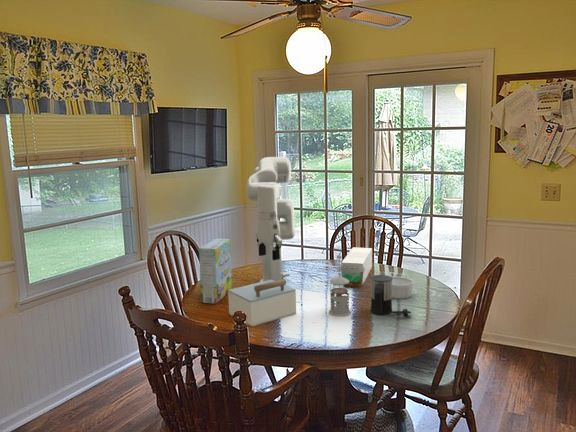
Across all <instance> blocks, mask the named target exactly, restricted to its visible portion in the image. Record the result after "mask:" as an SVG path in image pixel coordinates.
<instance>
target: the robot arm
mask: <svg viewBox="0 0 576 432" xmlns="http://www.w3.org/2000/svg"><path fill="white" fill-rule="evenodd" d="M291 178H292V164H291V161H290V159H289V158H288V157H285V156H267V157H263V158H261V160H260V161H259V162H258V166H257V167H255V168H254V170H253V174H251V175H250V177H249V178H248V179H247V181H246V182H247V183H246V197H247V199H248V200H249V201H251V202H257V216H258V220H257V221H258V223H257V233H255V238H256V242H257V247H258V256H260V257H261V256H262V258H261V259H262V261H261V262H262V263H261V264H262V278H261V279H260V280H259V282H263V281H267V280H274V281H278V280H282V279H284V280H285V278H286V277H289V276H290V275H291V274H290V272H288V271H287V272H282V249H281V248H282V244H283V241H285V240H292V239H294V237H295V231H296V230H295V229H296V227H295V225H296V224H295V207H294V202H293V200H291V199H290V198H281V196H282V190H283V189H282V186H281V185H280V184H287V183H290V182H291V181H290V180H291ZM279 219H283V220H279ZM285 281H286V280H285Z"/></svg>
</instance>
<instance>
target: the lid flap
mask: <svg viewBox="0 0 576 432" xmlns="http://www.w3.org/2000/svg"><path fill="white" fill-rule="evenodd" d="M284 279H285V278H284ZM284 279H282V280H278V281H274V280H267V281H263V282H260V281H259V282H255V283H251V284H248V285H243V286H238V287H233V288H232V289H230V290H228V291H229V292H231V293H233V294H235V295H237V296H239V297H241V298H243V299H245V300H247V301H249V302H255V301H258V300H262V299H266V298H270V297H273V296H277V295H281V294H285V293H288V292H292V291H296V288H293V287H291V286H289V285H286V284H287V282H286V280H284Z"/></svg>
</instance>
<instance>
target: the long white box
mask: <svg viewBox="0 0 576 432" xmlns="http://www.w3.org/2000/svg"><path fill="white" fill-rule="evenodd" d="M340 265H342V266H344V267H357V268H362V267H364V268H365V271H364V272H363V281H362V285H364V282H365V281H366V279H367V278H368V275H369V274H370V271H371V270H372V268H373V247H371V248H370V247H354V246H353V247H352V248H351V249H350V251H349V252H348V254H346V256H345V257H344V259H342V261H341V262H340ZM340 271H341V270H340ZM340 273H341V274H342V271H341V272H340Z"/></svg>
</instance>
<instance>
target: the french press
mask: <svg viewBox="0 0 576 432" xmlns="http://www.w3.org/2000/svg"><path fill="white" fill-rule="evenodd" d="M336 258H337V259H338V276H337V277H333V278H332V279H330V280H329V282H330V285H329V292H330V294H329V295H330V296H329V297H330V309H329V310H328V311H327V314H328V315H330V316H331V317H338V318H341V317H343V318H344V317H349V316H350V315H351V314H352V311H351V310H350V294H349V289H348V288H346V287H341V286H343V285H346V284H348V283H349V280H347V279H346V278H343V277H342V276H341V275H340V273H341V272H340V271H341V270H340V267H341V262H340V260H341V259H342V255H341V254H338V255H336ZM332 285H333V287H332ZM335 286H338V287H335ZM331 287H332V288H331Z"/></svg>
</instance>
